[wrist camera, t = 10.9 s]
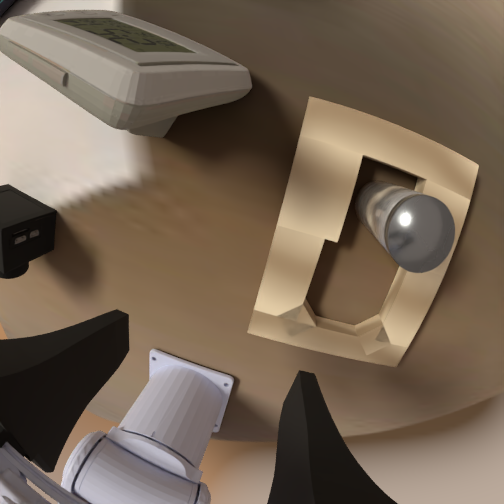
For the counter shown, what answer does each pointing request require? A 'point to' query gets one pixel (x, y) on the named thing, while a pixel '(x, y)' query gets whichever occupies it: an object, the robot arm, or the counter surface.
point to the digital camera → (23, 231)
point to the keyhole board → (330, 225)
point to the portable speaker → (5, 5)
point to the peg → (407, 224)
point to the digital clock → (123, 67)
